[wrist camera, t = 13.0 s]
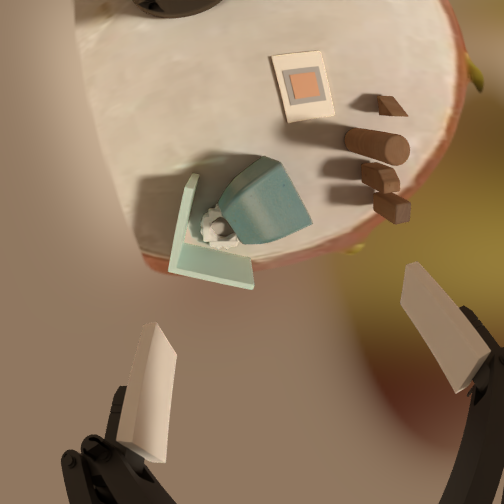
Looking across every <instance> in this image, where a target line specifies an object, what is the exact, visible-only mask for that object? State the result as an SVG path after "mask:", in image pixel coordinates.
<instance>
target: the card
mask: <svg viewBox="0 0 504 504" xmlns="http://www.w3.org/2000/svg"><path fill="white" fill-rule="evenodd" d="M271 58H272V62H273V66H274V70H275V73H276V77H277V81H278V85H279V89H280V93H281V97H282V101H283V105H284V110H285V114H286V118H287V123H292V122H297V121H303V120H309V119H315V118H321V117H328V116H335V112H334V107H333V102H332V97H331V92H330V88H329V83H328V79H327V75H326V71H325V67H324V63H323V59H322V55H321V51H310V52H300V53H291V54H283V55H276V56H271Z"/></svg>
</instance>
